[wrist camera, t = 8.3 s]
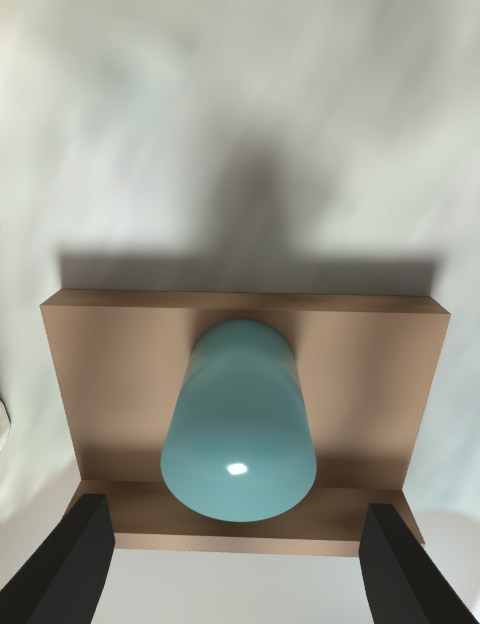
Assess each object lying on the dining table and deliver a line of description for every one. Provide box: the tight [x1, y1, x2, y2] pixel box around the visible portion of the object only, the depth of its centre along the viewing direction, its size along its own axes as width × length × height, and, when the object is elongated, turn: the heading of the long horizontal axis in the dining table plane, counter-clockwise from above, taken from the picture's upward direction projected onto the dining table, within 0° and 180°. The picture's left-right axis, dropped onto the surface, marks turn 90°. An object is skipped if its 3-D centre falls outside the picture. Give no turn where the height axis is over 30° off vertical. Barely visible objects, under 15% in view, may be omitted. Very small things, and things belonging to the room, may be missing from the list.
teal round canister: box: [160, 319, 316, 522], centre depth 14 cm, size 5×5×6 cm
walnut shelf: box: [40, 289, 451, 557], centre depth 18 cm, size 18×12×5 cm, turn 89°
